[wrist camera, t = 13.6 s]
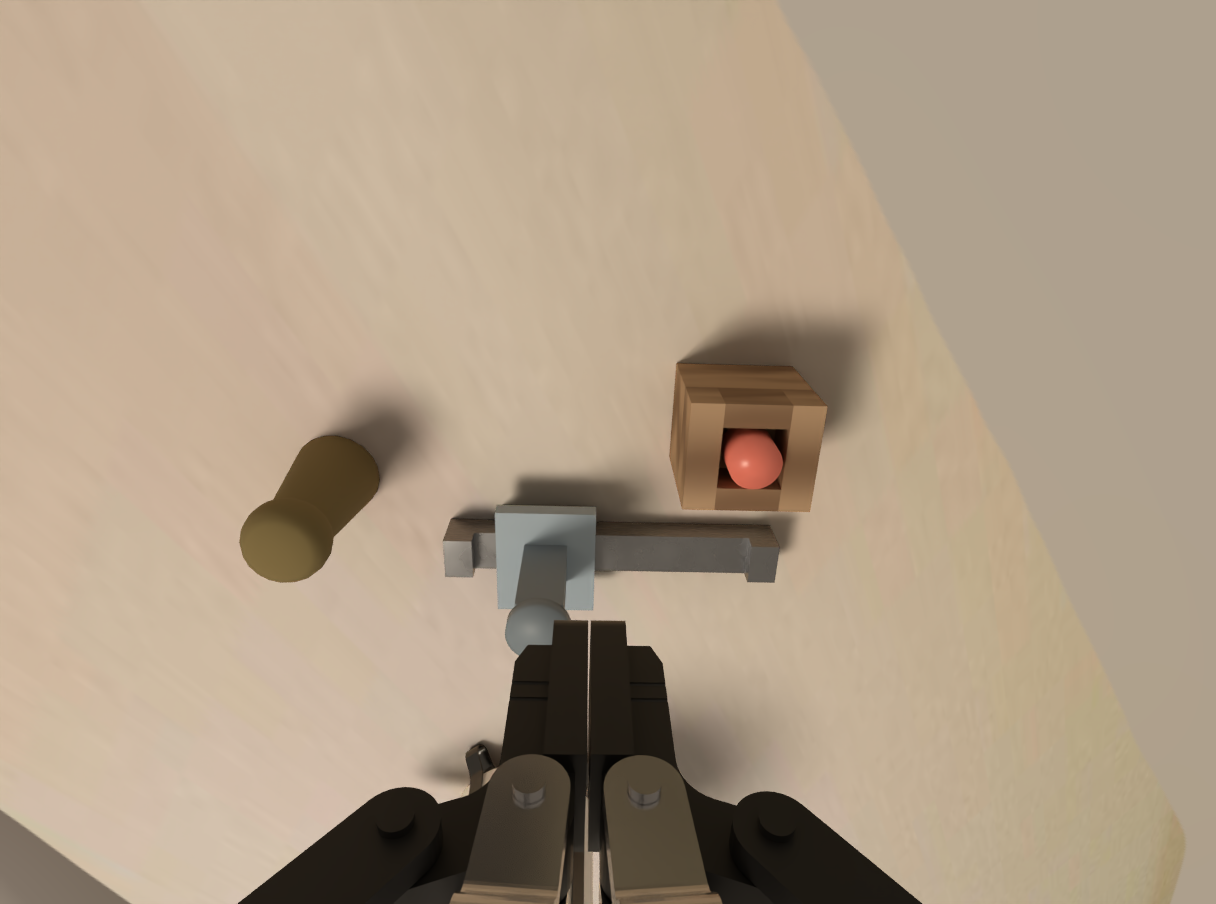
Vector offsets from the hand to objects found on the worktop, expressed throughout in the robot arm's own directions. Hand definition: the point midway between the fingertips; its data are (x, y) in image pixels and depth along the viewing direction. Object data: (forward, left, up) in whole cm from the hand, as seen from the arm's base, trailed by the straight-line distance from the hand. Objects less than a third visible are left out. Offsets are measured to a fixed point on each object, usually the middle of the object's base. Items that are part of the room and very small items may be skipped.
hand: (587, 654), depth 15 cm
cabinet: (+8, +10, -35) cm, 37 cm away
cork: (+13, -18, -35) cm, 42 cm away
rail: (+18, +2, -35) cm, 39 cm away
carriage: (+18, -3, -35) cm, 39 cm away
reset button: (+7, +10, -29) cm, 32 cm away
